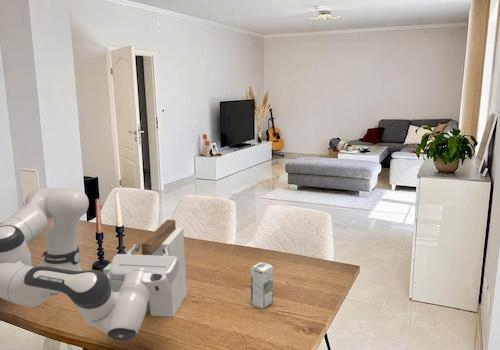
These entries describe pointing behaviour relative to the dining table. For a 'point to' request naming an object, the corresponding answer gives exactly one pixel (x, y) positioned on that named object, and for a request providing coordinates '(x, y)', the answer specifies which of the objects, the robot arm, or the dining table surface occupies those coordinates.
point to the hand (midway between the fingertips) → (151, 245)
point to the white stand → (173, 298)
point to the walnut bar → (158, 237)
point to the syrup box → (262, 285)
